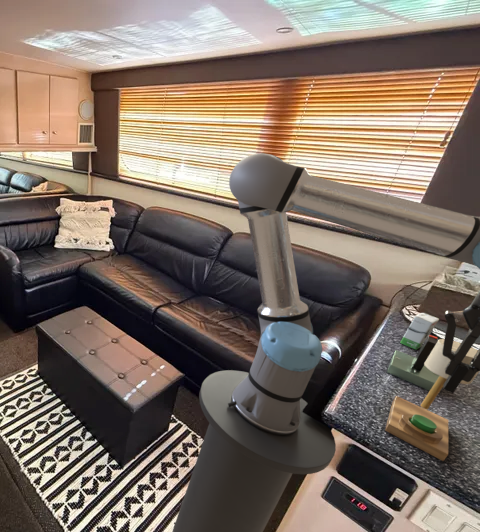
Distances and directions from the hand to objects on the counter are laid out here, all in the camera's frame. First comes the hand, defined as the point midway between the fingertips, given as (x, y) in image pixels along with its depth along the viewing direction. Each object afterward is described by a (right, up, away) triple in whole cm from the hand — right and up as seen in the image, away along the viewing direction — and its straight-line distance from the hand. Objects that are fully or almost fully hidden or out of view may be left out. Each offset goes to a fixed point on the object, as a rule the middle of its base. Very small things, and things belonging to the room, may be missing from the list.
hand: (448, 388), depth 71 cm
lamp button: (-1, -11, +4) cm, 12 cm away
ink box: (+43, -2, +49) cm, 65 cm away
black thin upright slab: (+24, -4, +30) cm, 39 cm away
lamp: (+6, -9, +10) cm, 15 cm away
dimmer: (+24, -7, +31) cm, 40 cm away
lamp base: (+2, -13, +8) cm, 16 cm away
